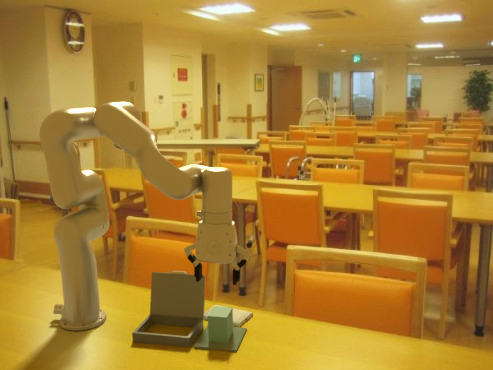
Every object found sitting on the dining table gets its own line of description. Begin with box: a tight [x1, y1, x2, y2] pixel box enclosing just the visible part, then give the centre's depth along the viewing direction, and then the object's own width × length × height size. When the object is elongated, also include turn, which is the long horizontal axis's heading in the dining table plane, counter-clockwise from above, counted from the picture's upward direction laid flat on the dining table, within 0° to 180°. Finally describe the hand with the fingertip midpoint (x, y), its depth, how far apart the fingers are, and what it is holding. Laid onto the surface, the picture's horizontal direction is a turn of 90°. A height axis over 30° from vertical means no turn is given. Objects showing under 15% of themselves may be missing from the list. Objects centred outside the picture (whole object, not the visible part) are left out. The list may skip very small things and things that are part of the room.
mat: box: [193, 324, 248, 353], centre depth 133 cm, size 11×12×1 cm
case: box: [131, 313, 204, 348], centre depth 136 cm, size 16×12×2 cm
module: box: [207, 305, 234, 343], centre depth 133 cm, size 5×6×7 cm
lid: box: [149, 270, 207, 318], centre depth 142 cm, size 16×12×2 cm
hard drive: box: [203, 304, 254, 328], centre depth 146 cm, size 2×8×12 cm
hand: (217, 281), depth 131 cm, fingers open, 9 cm apart
